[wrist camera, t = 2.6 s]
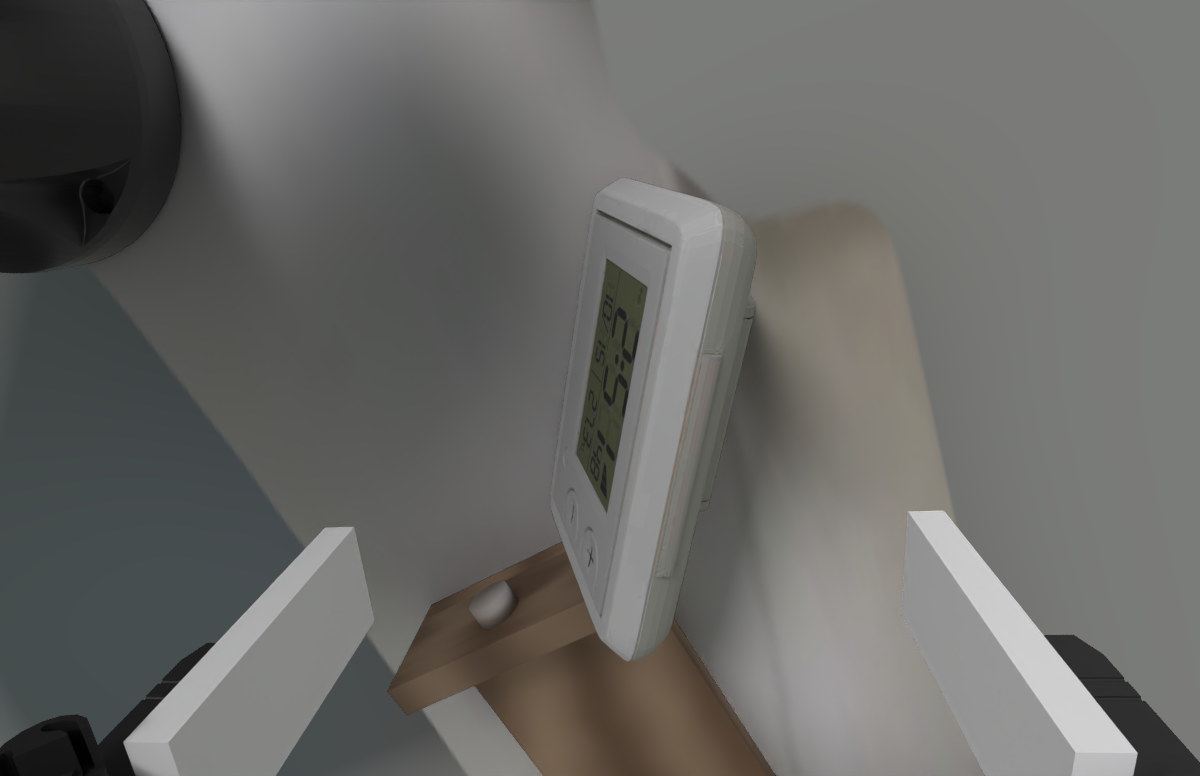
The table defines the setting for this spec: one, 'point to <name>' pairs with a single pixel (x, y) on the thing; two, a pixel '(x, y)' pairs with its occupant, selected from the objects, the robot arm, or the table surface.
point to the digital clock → (648, 399)
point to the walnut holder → (573, 681)
